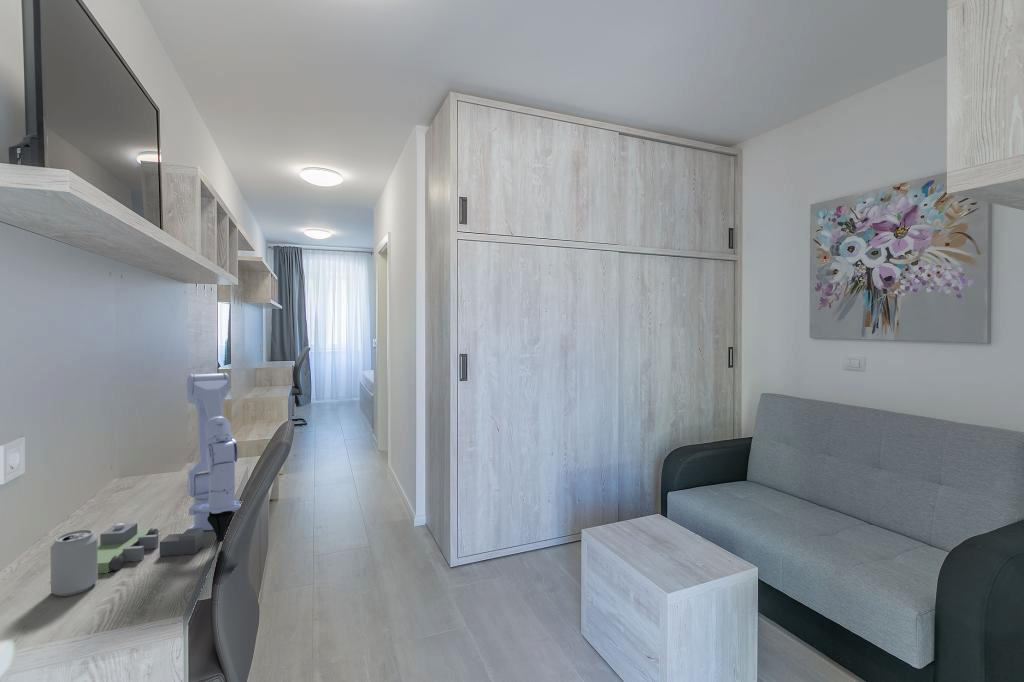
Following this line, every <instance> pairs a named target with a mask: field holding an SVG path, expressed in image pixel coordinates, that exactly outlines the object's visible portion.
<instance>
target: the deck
mask: <svg viewBox="0 0 1024 682" xmlns="http://www.w3.org/2000/svg"><path fill="white" fill-rule="evenodd" d="M99 540H100V541H98V573H105V574H109V573H108V572H110V571H111V572H114V570H115V571H119V569H120V568H121V569H122V567H123V565H124V563H126V562H125V561H132V562H140V561H139V560H142V559H143V560H144V559H145V550H156V549H157V548H159V530H158V528H150V529H144V530H143V529H141V530H138V522H133V523H124V522H122V523H121V522H120V523H116V524H114V525H112V526H111V527H109V528H108V529H106V530H104V531H103V532H102V533H100V535H99ZM153 548H154V549H153ZM155 548H156V549H155ZM143 560H142V561H143ZM121 569H120V570H121ZM111 572H110V573H111Z"/></svg>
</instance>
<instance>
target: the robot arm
mask: <svg viewBox="0 0 1024 682" xmlns="http://www.w3.org/2000/svg"><path fill="white" fill-rule="evenodd" d="M230 386H231V385H230V375H229V374H228V373H227V372H220V373H218V372H217V373H202V374H201V373H198V374H197V373H195V374H193V373H189V375H188V376H187V378H186V391H187V392H186V395H187V397H186V399H187V401H188V403H189V404H192V405H195V408H196V412H197V432H198V433H197V434H198V435H197V437H198V459H199V460H198V461H197V462H196V463H195V464H194V465H193V466H191V467H190V468H189V470H188V472H187V481H186V482H187V483H186V484H187V487H186V488H187V494H188V496H189V497H190V498H193V505H191V506H190V507H189V508H188V515H189V516H193V524H192V525H191V526H189V528H188V529H197V528H203V531H214V534H215V538H216V540H217V542H218V543H219V542H220V543H222V542H224V541H225V540H224V537H225V535H226V532H227V530H228V531H229V529H228V527H229V528H230V526H231V523H232V520H233V518H234V517H235V514H236V513H238V512H237V510H238V509H239V508H240V507H241V504H242V503H241V502H242V501H238V500H236V499H235V498H236V496H235V494H236V493H235V492H236V487H235V486H236V484H235V483H236V478H235V477H236V476H235V475H236V467H235V466H236V463H237V461H238V457H239V450H238V449H239V447H238V444H237V440H236V439H235V437H234V436H233V434H232V433H233V432H232V430H231V424H230V420H229V419H228V418H226V417H224V404H223V401H225V400H226V397H227V396H228V394H229V391H230V388H231V387H230ZM240 503H241V504H240ZM227 533H228V532H227ZM223 540H224V541H223Z"/></svg>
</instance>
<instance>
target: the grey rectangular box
mask: <svg viewBox="0 0 1024 682" xmlns="http://www.w3.org/2000/svg"><path fill="white" fill-rule="evenodd" d="M202 546H203V547H204V530H203V528H197V529H189V528H187V529H186V530H185V531H184V532H182V533H171V534H167V536H165V537H164V538H163V539H162V540H160V541H159V557H169V556H170V557H171V556H182V555H183V556H184V555H185V554H186V555H196V554H197V553H198V552H199V551H198V550H199V549H200V548H201V547H202ZM203 547H202V548H203ZM202 548H201V549H202ZM201 549H200V550H201ZM196 552H197V553H196Z"/></svg>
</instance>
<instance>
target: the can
mask: <svg viewBox="0 0 1024 682" xmlns="http://www.w3.org/2000/svg"><path fill="white" fill-rule="evenodd" d="M94 533H95V532H94V530H93V529H88V528H87V529H86V528H83V529H77V530H72V531H67V532H65V533H63V534H60V535H58V536H57V537H55V538H54V543H52V545H51V546H50V593H51V594H53V595H56V596H57V597H69V595H70V596H75V595H77V593H78V594H80V593H83V592H86V591H87V590H89V589H90V588H92V586H93V585H94V584H95V583H97V581H98V580H99V574H98V542H99V541H98V536H97V535H96V534H94Z"/></svg>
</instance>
